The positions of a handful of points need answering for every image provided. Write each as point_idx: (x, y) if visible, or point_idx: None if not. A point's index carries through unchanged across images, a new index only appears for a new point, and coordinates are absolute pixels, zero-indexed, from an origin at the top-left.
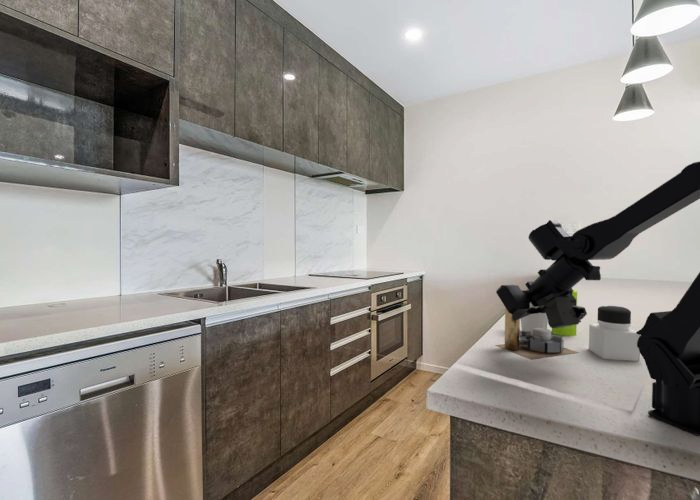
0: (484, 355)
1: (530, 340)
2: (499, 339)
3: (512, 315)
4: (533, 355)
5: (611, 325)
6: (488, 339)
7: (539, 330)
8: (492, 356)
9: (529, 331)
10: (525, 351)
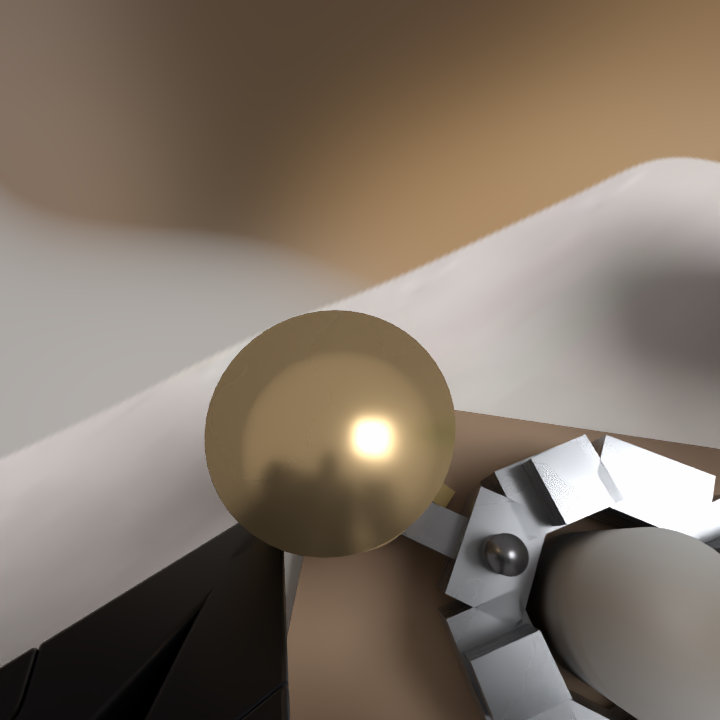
0: (184, 449)
1: (467, 603)
2: (536, 282)
3: (237, 526)
4: (366, 693)
5: None
6: (472, 257)
7: (630, 626)
8: (206, 485)
9: (596, 499)
10: (397, 592)
